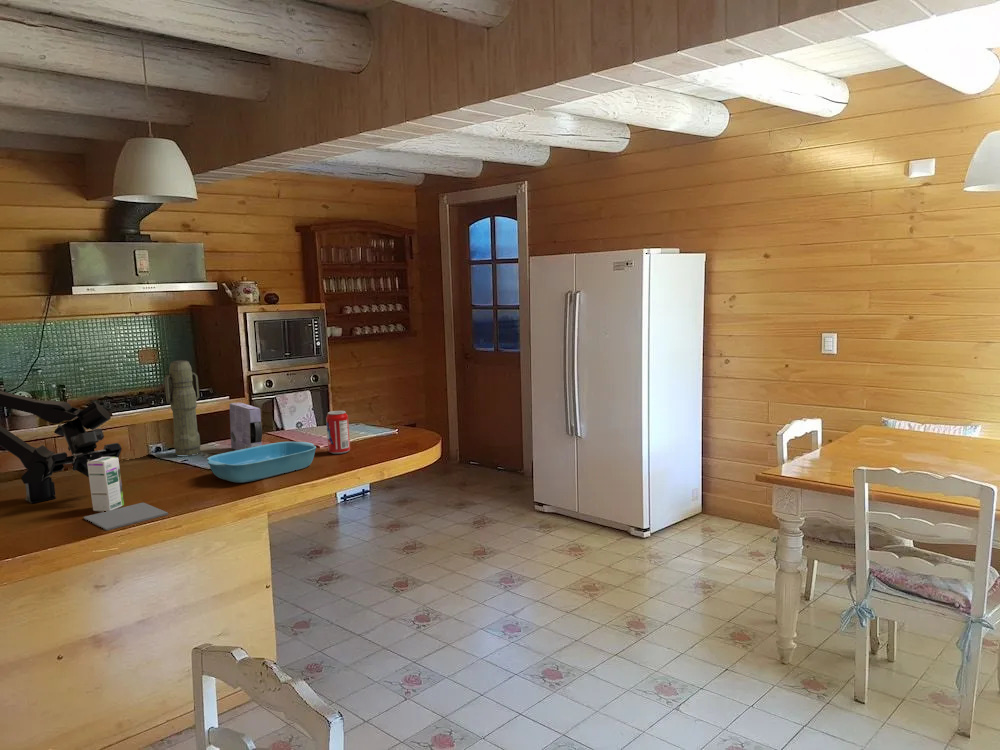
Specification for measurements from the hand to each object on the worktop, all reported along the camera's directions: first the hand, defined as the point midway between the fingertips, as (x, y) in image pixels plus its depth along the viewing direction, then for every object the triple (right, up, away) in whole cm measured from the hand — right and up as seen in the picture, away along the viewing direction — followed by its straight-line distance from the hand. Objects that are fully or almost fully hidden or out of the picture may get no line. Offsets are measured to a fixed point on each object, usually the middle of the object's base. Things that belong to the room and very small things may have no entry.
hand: (95, 480), depth 213 cm
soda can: (+59, +2, +55) cm, 81 cm away
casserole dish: (+39, -2, +32) cm, 50 cm away
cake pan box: (+23, +2, +62) cm, 66 cm away
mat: (+15, -8, -12) cm, 21 cm away
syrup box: (+6, -8, -4) cm, 11 cm away
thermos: (+1, +1, +61) cm, 61 cm away
